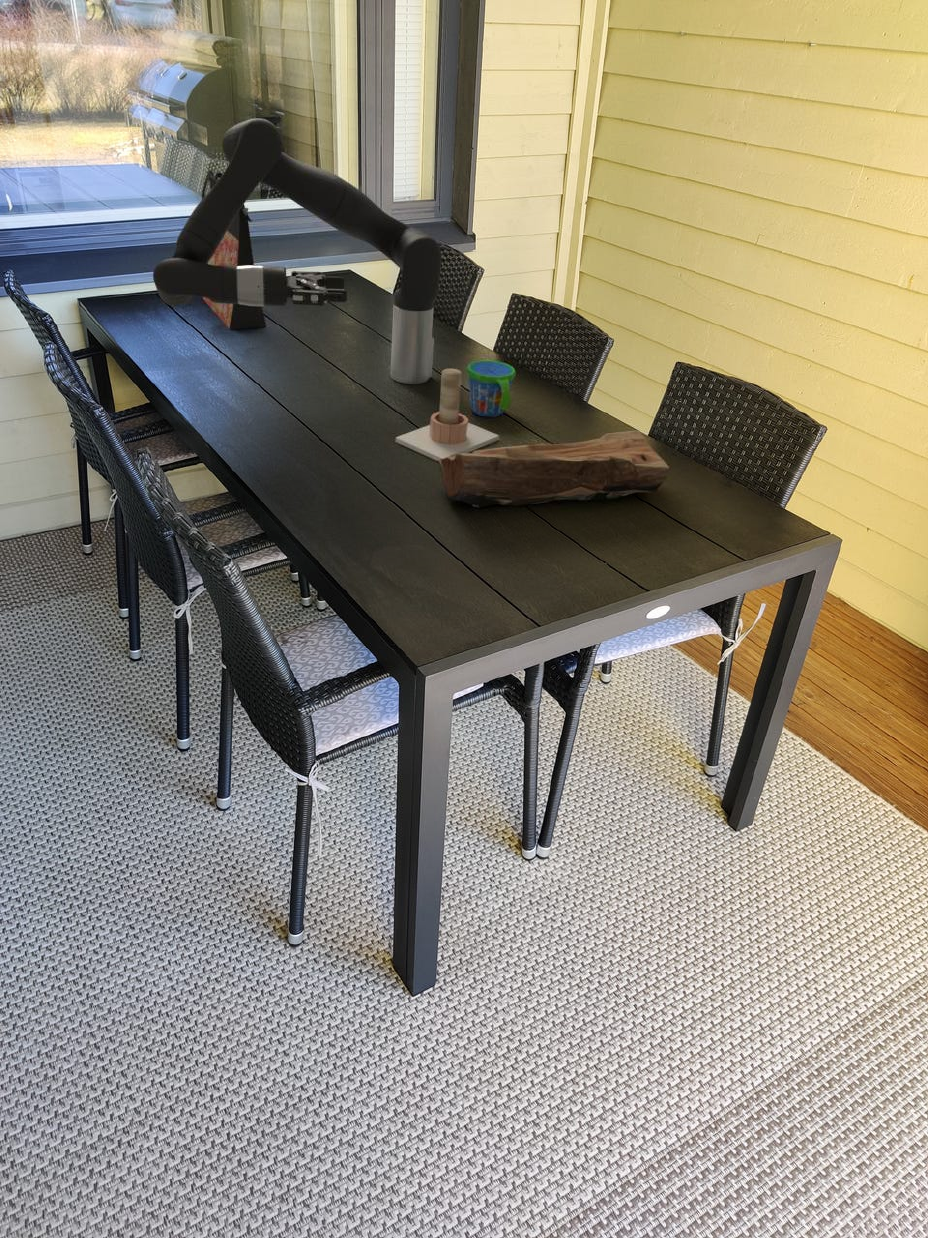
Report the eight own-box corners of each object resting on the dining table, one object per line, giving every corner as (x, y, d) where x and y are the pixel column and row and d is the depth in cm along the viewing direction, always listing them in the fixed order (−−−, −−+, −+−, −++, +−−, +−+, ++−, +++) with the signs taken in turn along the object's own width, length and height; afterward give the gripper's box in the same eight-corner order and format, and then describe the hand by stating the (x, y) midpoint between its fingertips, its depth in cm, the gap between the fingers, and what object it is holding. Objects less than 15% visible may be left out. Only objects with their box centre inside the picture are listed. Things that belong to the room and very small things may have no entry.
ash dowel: (442, 430, 207) (446, 367, 199) (459, 434, 206) (464, 370, 198) (435, 437, 204) (438, 373, 196) (453, 441, 203) (457, 377, 195)
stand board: (452, 420, 215) (453, 416, 214) (498, 439, 208) (499, 435, 208) (395, 441, 203) (395, 437, 203) (442, 463, 197) (442, 458, 196)
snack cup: (453, 399, 225) (457, 356, 219) (495, 397, 228) (500, 354, 223) (477, 427, 213) (481, 382, 207) (521, 424, 217) (527, 379, 211)
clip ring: (446, 426, 210) (448, 408, 207) (473, 437, 206) (475, 419, 204) (422, 435, 205) (423, 417, 202) (449, 447, 201) (451, 429, 199)
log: (445, 516, 177) (467, 442, 168) (424, 466, 190) (444, 396, 181) (649, 536, 192) (678, 470, 183) (617, 489, 205) (643, 425, 196)
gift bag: (192, 299, 269) (182, 161, 249) (243, 296, 275) (237, 161, 255) (222, 334, 248) (214, 186, 228) (276, 330, 254) (273, 185, 234)
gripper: (260, 276, 183) (348, 280, 186) (261, 256, 194) (343, 259, 197) (262, 316, 187) (347, 319, 190) (262, 294, 199) (342, 297, 201)
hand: (345, 289), depth 194 cm, fingers open, 8 cm apart
